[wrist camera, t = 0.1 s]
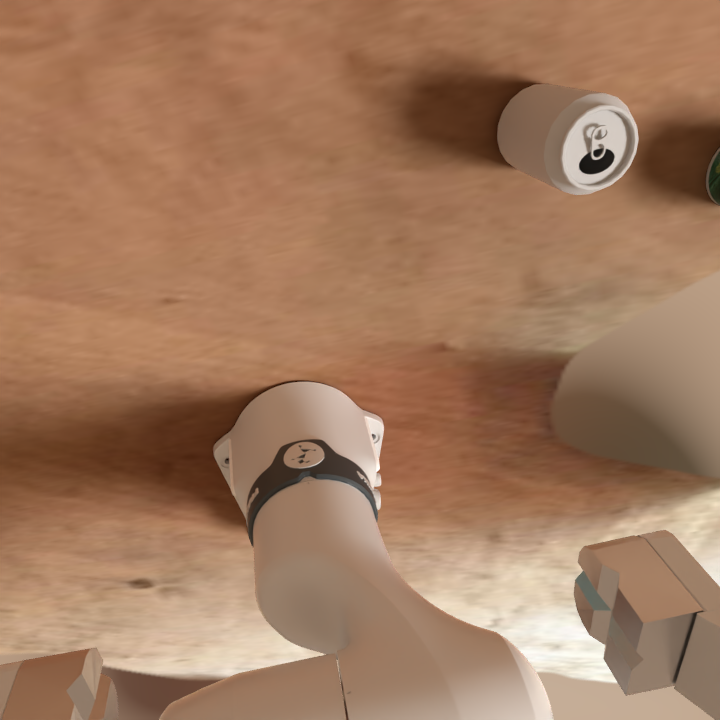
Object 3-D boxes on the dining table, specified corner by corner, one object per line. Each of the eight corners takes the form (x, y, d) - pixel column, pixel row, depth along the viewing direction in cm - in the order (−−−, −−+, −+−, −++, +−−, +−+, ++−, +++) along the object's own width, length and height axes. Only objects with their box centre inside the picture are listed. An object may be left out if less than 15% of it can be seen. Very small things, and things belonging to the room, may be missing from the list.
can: (496, 178, 57) (555, 210, 46) (489, 93, 53) (552, 108, 42) (571, 159, 57) (646, 187, 47) (569, 74, 53) (650, 84, 43)
